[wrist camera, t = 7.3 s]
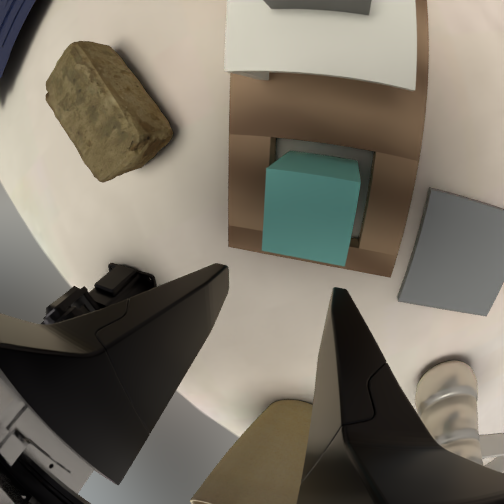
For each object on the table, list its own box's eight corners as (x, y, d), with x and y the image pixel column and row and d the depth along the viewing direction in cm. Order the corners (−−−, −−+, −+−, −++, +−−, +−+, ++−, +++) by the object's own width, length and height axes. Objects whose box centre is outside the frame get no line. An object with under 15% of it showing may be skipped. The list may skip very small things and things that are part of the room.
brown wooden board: (388, 266, 20) (390, 277, 19) (235, 238, 23) (228, 246, 22) (420, -4, 10) (425, -11, 9) (242, -18, 13) (235, -25, 12)
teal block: (347, 223, 20) (344, 266, 15) (285, 212, 21) (261, 250, 16) (357, 160, 17) (360, 182, 12) (290, 150, 19) (266, 168, 14)
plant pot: (377, 421, 29) (358, 538, 16) (295, 445, 37) (265, 533, 24) (296, 362, 28) (244, 509, 14) (219, 398, 36) (167, 495, 22)
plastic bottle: (478, 373, 21) (489, 549, 5) (425, 398, 25) (413, 566, 8) (463, 341, 20) (480, 554, 4) (403, 371, 24) (384, 570, 7)
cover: (395, 95, 13) (428, 87, 7) (259, 79, 15) (202, 66, 9) (395, -20, 9) (413, -79, 3) (263, -29, 11) (214, -83, 5)
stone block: (110, 38, 17) (68, 35, 13) (185, 132, 20) (150, 145, 16) (74, 85, 19) (34, 92, 15) (139, 174, 23) (103, 195, 19)
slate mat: (484, 312, 18) (486, 316, 18) (397, 296, 21) (398, 301, 20) (523, 216, 14) (527, 219, 14) (429, 187, 16) (431, 189, 16)
